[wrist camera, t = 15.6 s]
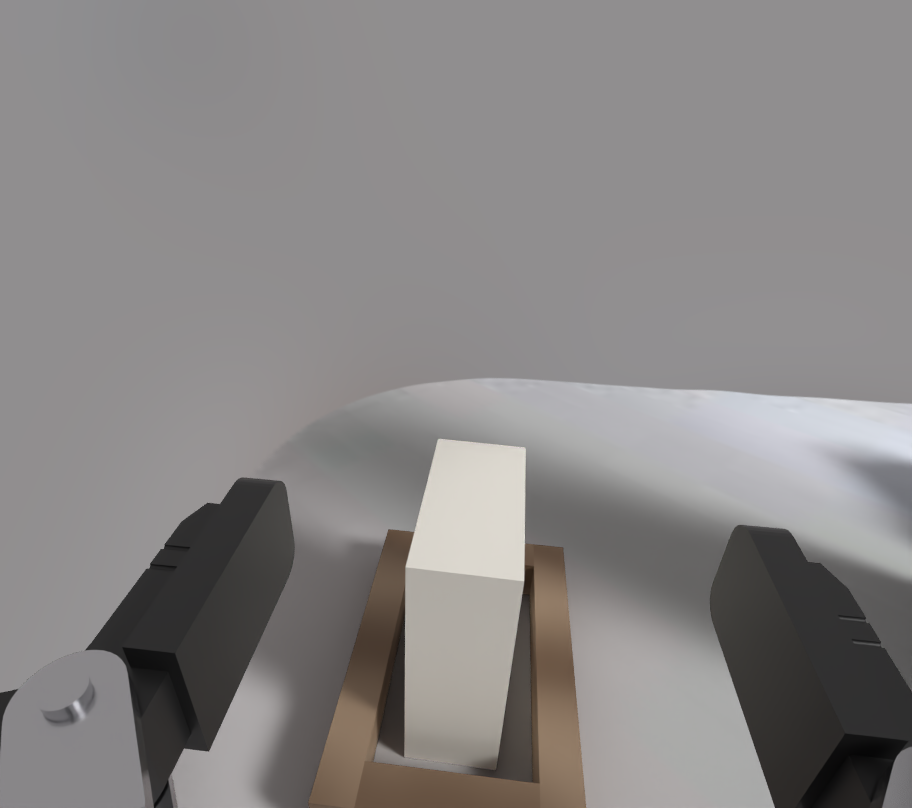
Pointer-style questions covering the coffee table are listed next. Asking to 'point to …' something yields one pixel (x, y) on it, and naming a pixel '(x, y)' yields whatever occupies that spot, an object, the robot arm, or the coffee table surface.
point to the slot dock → (439, 792)
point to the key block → (464, 602)
